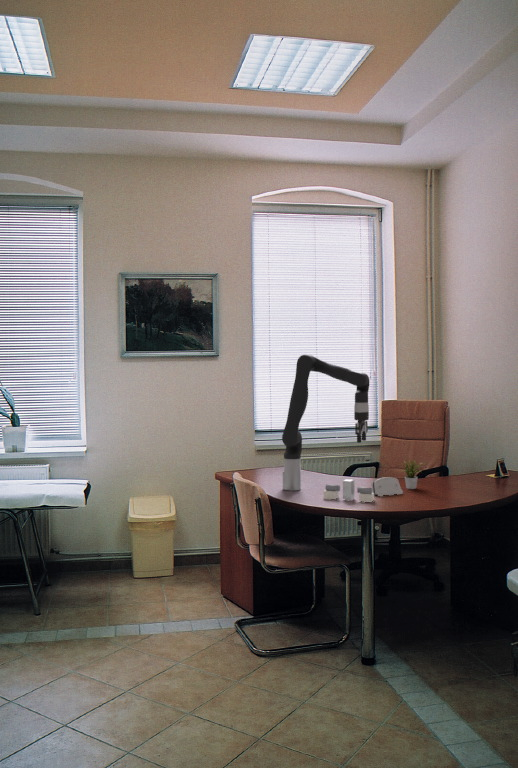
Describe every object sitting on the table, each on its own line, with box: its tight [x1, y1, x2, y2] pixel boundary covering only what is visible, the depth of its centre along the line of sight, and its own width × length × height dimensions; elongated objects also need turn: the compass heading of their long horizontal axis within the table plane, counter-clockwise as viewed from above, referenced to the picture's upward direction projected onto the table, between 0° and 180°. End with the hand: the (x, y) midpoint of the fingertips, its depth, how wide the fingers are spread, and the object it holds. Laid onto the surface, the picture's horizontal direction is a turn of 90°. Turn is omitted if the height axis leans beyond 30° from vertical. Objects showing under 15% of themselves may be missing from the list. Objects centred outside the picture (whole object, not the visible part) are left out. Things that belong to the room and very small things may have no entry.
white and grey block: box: [356, 486, 375, 503], centre depth 339 cm, size 8×6×7 cm
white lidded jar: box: [323, 484, 341, 500], centre depth 347 cm, size 8×6×7 cm
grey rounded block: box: [371, 476, 404, 497], centre depth 357 cm, size 17×5×10 cm, turn 116°
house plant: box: [399, 458, 425, 490], centre depth 371 cm, size 14×14×16 cm
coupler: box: [342, 478, 355, 501], centre depth 343 cm, size 4×4×10 cm
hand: (361, 441), depth 356 cm, fingers open, 8 cm apart
